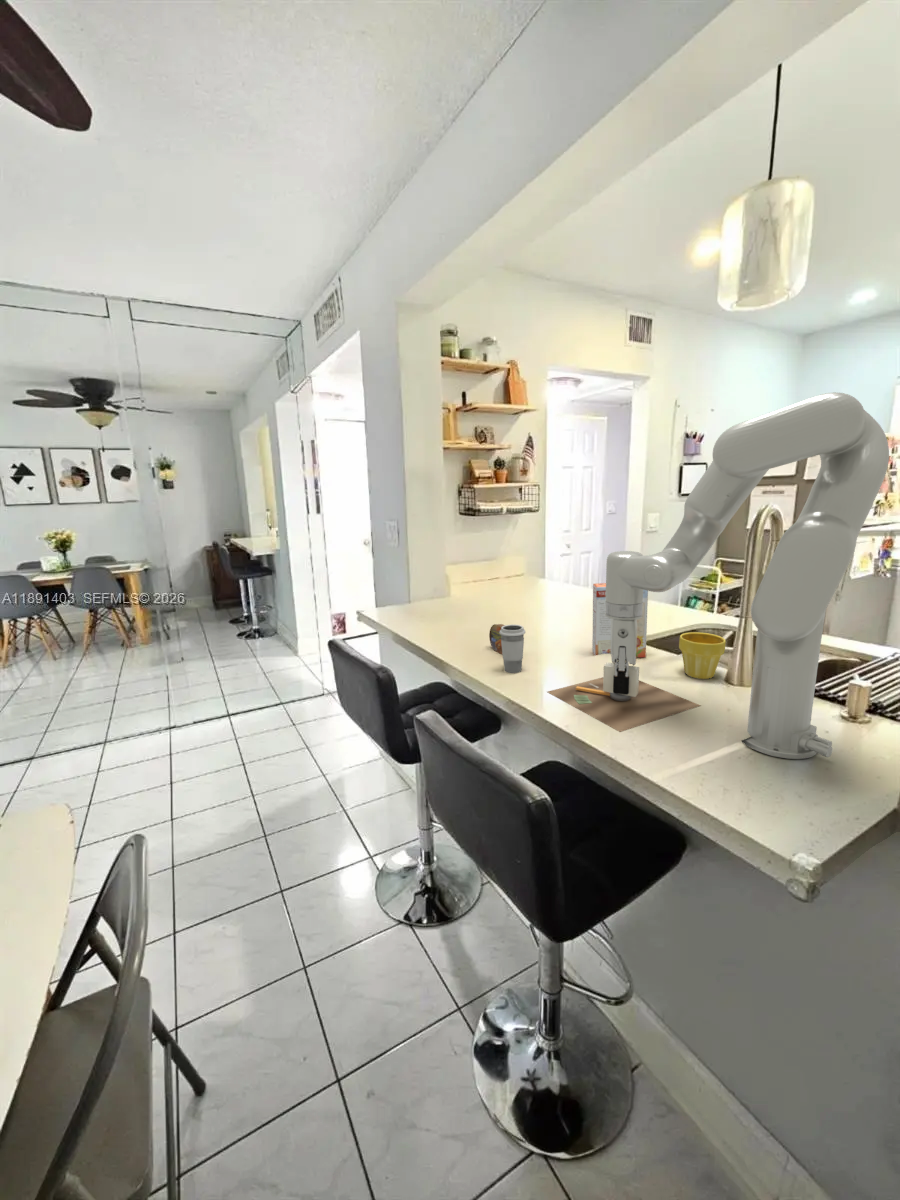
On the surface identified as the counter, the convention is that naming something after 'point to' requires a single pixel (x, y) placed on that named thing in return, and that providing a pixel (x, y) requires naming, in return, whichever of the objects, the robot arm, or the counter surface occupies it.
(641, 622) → the cracker box
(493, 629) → the tin
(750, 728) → the robot arm
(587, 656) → the counter surface
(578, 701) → the dial board
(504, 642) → the cup
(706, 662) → the plant pot
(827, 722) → the counter surface
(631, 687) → the knob
